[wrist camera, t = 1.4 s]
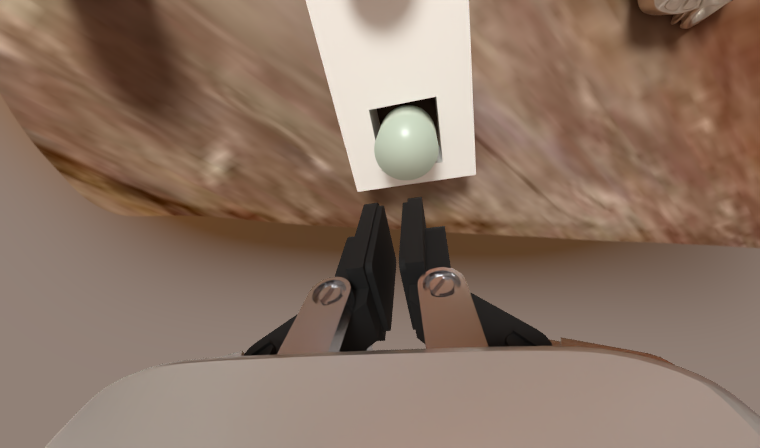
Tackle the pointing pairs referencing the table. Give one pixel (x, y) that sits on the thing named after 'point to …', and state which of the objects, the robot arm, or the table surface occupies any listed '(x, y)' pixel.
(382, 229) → the robot arm
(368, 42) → the button box
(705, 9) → the ornament
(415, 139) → the sage button
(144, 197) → the table surface
